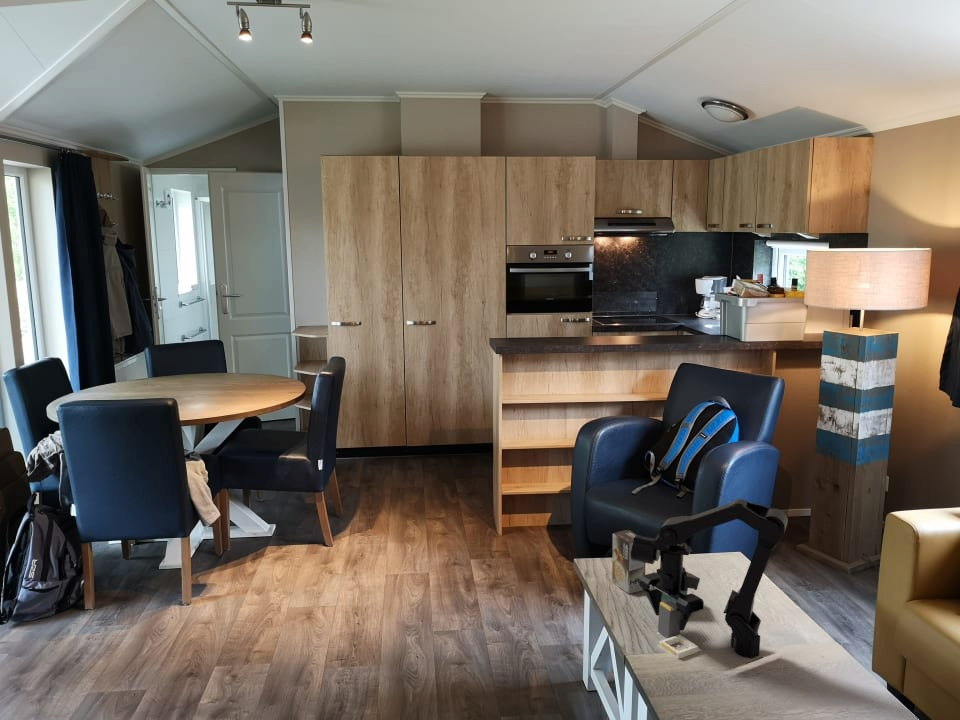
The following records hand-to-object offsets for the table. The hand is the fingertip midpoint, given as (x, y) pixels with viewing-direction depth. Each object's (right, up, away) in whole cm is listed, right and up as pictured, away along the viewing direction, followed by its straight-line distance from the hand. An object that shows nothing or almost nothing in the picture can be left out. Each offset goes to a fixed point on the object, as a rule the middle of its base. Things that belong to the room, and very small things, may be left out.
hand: (669, 622), depth 202 cm
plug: (0, -3, +1) cm, 3 cm away
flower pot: (+4, -2, +16) cm, 17 cm away
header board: (0, -5, -4) cm, 6 cm away
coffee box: (-5, 0, +31) cm, 31 cm away
